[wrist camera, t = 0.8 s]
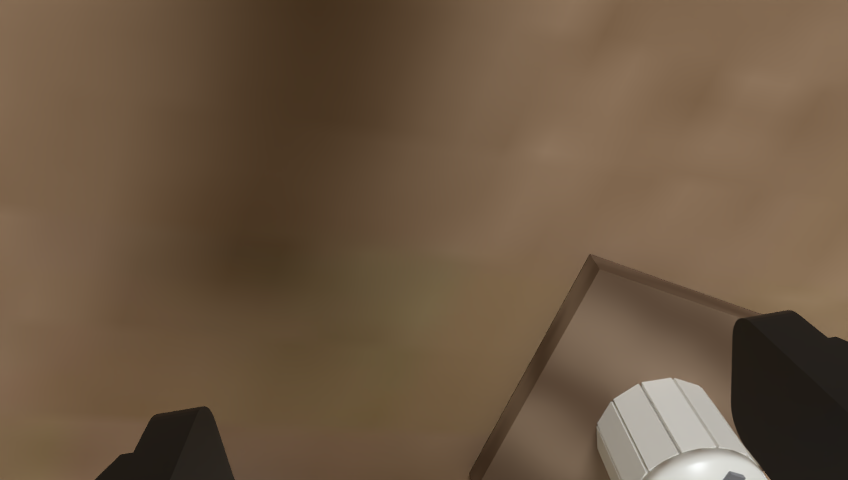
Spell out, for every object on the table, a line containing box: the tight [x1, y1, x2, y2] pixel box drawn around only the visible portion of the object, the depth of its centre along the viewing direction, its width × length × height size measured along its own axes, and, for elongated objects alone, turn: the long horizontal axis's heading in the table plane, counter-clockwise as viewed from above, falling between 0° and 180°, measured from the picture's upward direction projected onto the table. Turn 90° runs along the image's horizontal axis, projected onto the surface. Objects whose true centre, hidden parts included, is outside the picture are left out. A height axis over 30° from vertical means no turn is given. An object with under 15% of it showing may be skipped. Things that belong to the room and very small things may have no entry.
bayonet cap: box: [596, 378, 767, 480], centre depth 31 cm, size 6×6×6 cm
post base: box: [470, 254, 763, 480], centre depth 32 cm, size 14×14×6 cm
